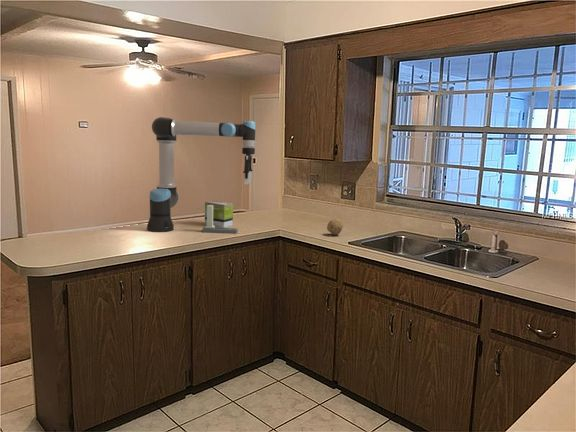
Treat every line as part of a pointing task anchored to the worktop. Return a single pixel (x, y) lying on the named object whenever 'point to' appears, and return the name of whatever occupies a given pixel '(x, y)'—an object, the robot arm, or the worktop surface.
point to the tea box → (220, 213)
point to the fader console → (220, 230)
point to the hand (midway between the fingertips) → (247, 183)
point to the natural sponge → (335, 226)
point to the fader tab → (210, 217)
